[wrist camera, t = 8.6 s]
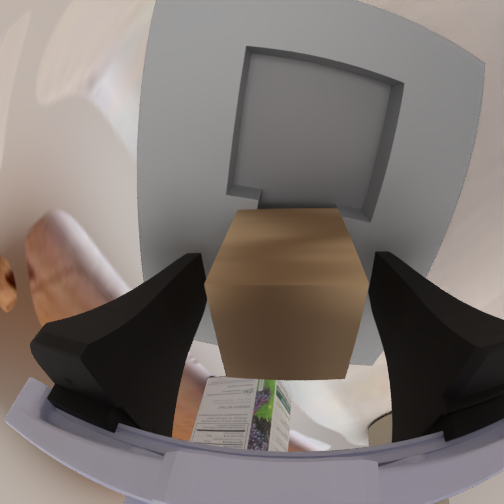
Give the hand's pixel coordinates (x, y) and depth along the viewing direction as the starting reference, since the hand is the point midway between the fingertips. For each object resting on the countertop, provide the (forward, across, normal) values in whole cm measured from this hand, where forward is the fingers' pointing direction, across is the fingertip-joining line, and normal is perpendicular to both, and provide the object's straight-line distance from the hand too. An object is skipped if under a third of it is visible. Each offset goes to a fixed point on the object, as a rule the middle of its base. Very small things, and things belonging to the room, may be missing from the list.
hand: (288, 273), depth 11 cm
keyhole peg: (+2, 0, 0) cm, 2 cm away
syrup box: (+3, +3, +14) cm, 15 cm away
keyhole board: (+3, 0, -2) cm, 4 cm away
